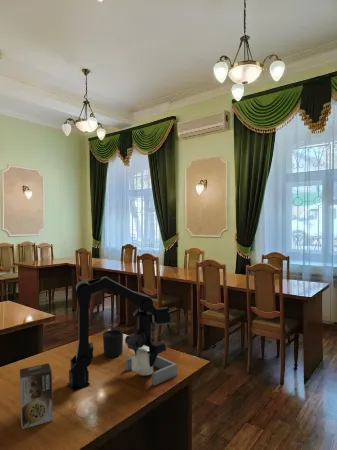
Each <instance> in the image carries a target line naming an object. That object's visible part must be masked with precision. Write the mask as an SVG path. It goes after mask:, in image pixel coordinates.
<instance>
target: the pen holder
mask: <svg viewBox="0 0 337 450" xmlns="http://www.w3.org/2000/svg"><path fill="white" fill-rule="evenodd" d="M123 342H124V333H123V331H121V330H119V329H109V330H105V331H104V332H103V333H102V343H103V345H102V346H103V354H104V356H105V357H108V358H117V357H120V356H121V355H122V354H123V350H124V349H123V347H124V343H123Z"/></svg>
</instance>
